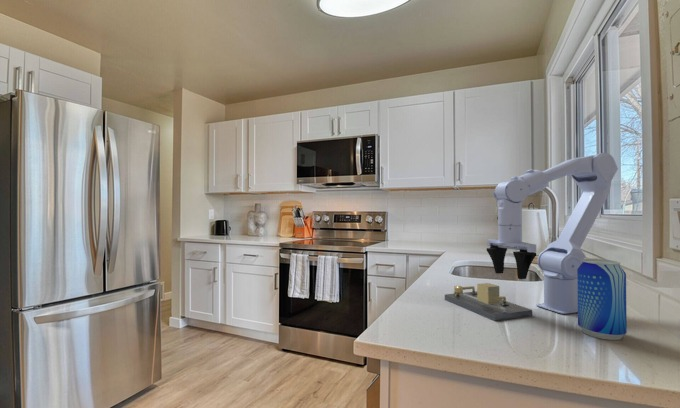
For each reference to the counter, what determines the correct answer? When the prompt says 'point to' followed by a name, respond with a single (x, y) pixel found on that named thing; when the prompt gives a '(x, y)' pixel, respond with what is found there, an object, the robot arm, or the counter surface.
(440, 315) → the counter surface
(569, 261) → the robot arm
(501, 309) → the bolt plate
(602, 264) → the beer can
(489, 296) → the leg
